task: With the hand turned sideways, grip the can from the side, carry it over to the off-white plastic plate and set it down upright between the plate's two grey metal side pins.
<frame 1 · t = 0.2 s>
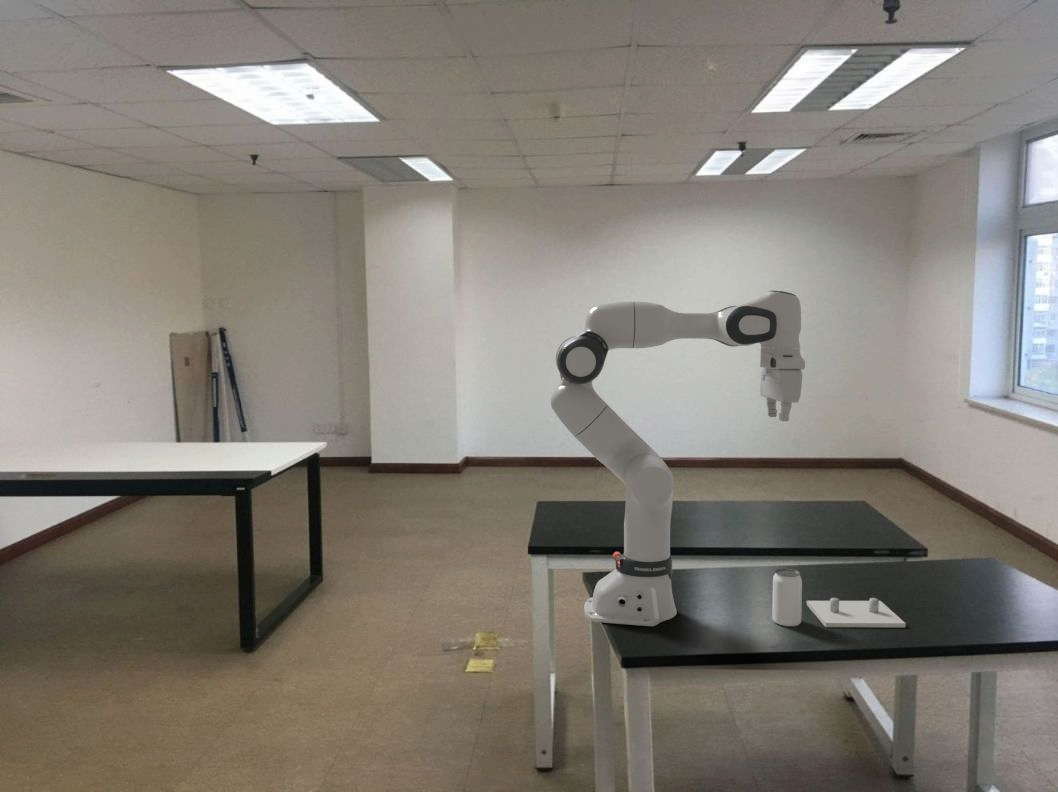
hand: (777, 418, 180), 47 cm above the table, tool pointing down, fingers open, 8 cm apart
can: (786, 622, 179), on the table
pin plate: (853, 615, 182), on the table
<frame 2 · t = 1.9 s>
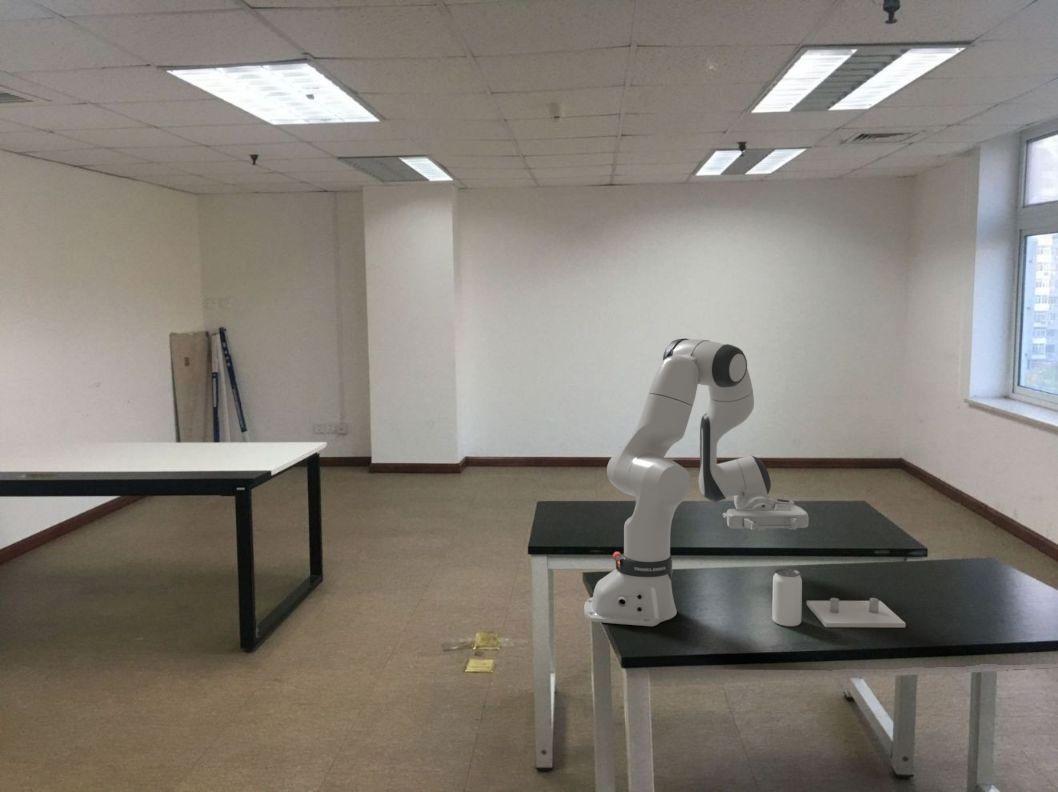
hand: (774, 526, 189), 19 cm above the table, tool horizontal, fingers open, 8 cm apart
nothing on the table moved.
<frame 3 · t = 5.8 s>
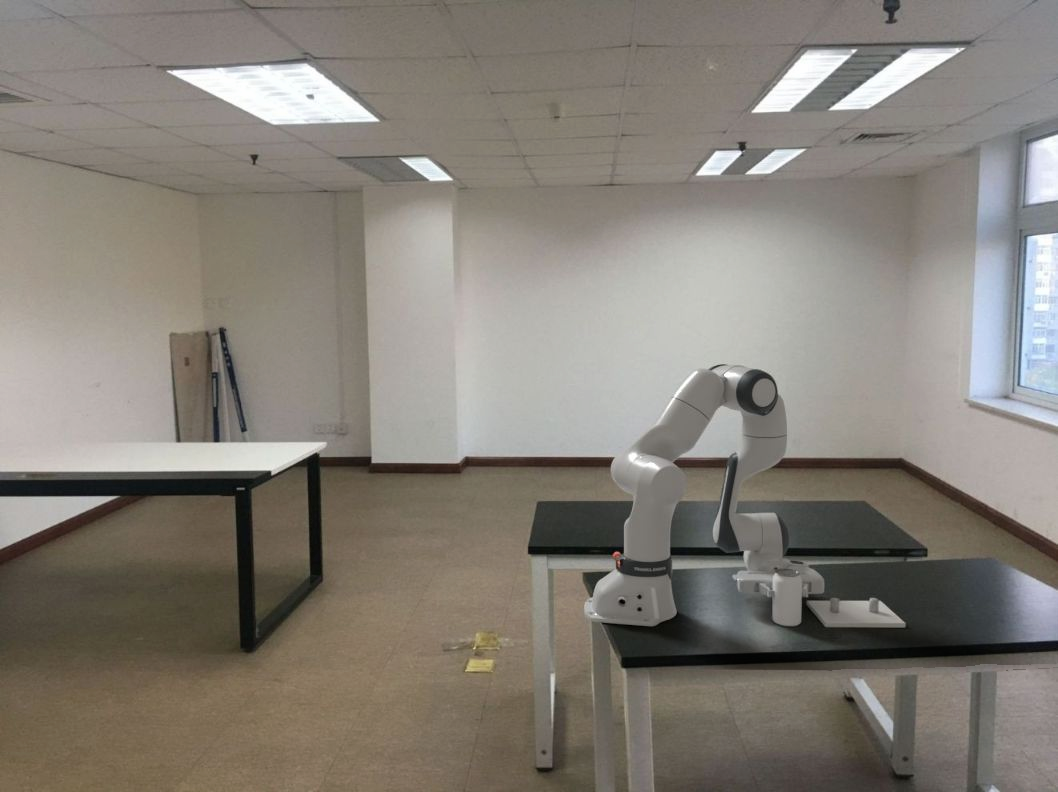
hand: (788, 594, 178), 7 cm above the table, tool horizontal, fingers closed on can, 6 cm apart
can: (786, 622, 179), on the table, touching gripper
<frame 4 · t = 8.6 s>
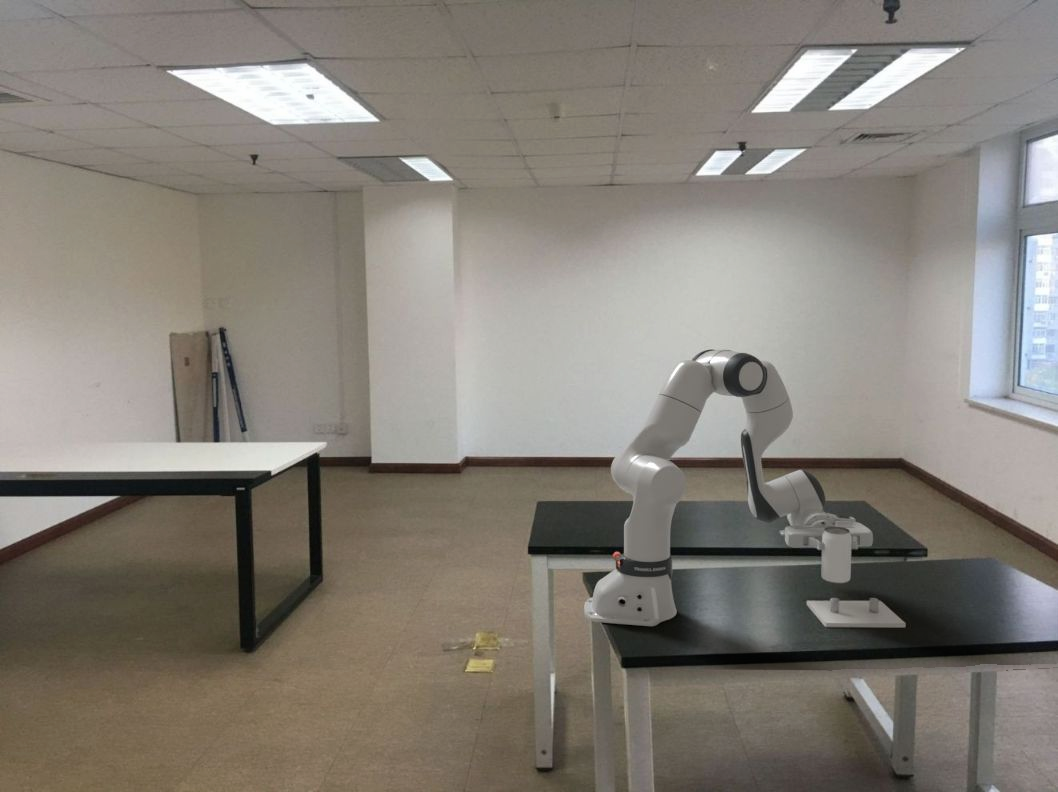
hand: (838, 546, 179), 18 cm above the table, tool horizontal, fingers closed on can, 6 cm apart
can: (835, 579, 181), point 9 cm above the table, touching gripper
when the fingers open (9 cm above the table, at t = 11.4 s): can stays where it is, resting on pin plate.
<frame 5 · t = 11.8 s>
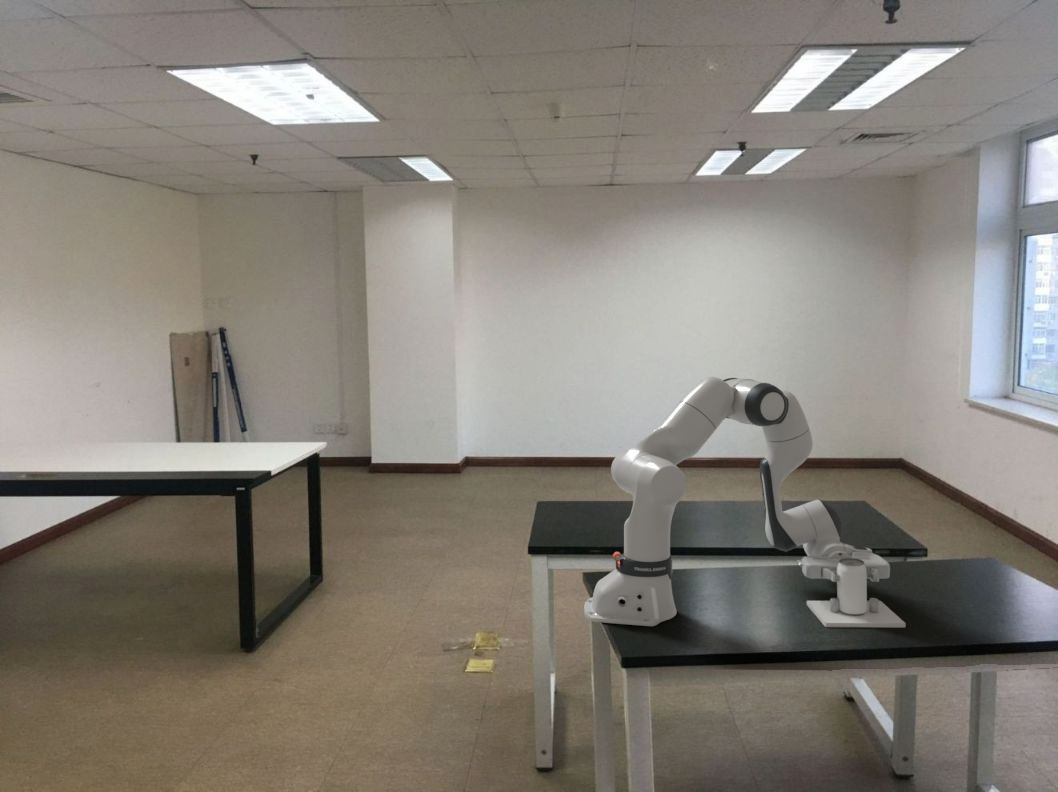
hand: (856, 578, 180), 9 cm above the table, tool horizontal, fingers open, 8 cm apart
can: (852, 611, 182), point 1 cm above the table, touching gripper, pin plate
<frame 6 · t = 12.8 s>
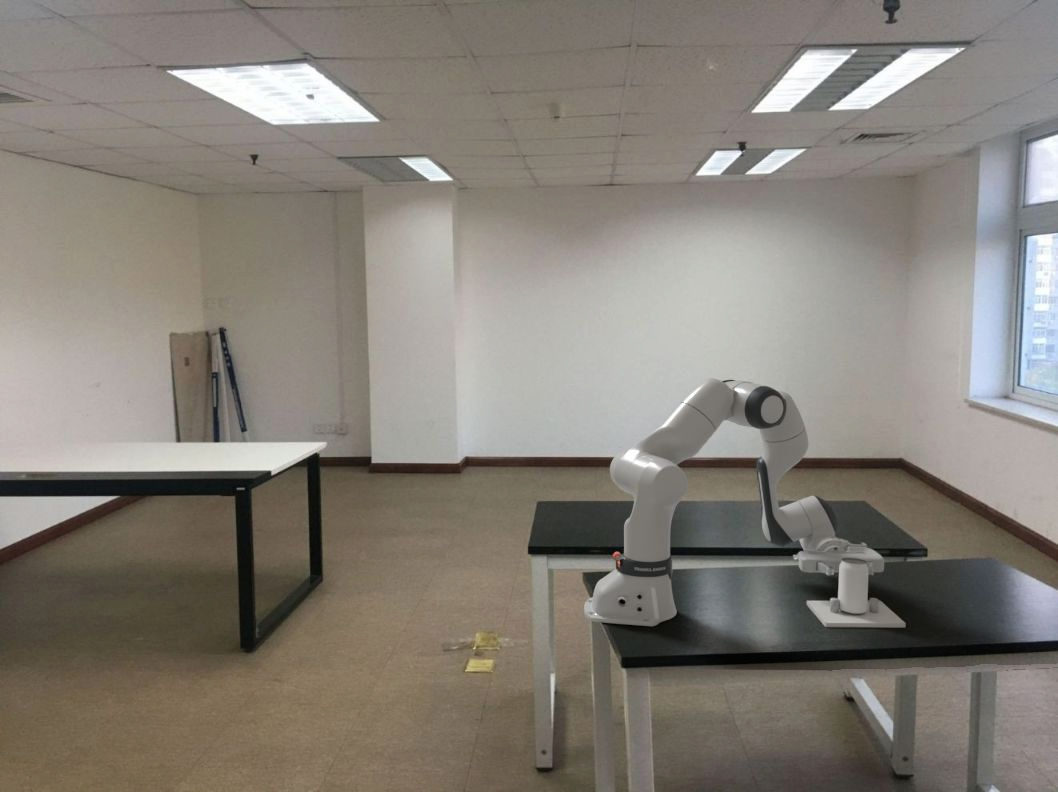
hand: (850, 572, 184), 10 cm above the table, tool horizontal, fingers open, 8 cm apart
can: (852, 611, 182), point 1 cm above the table, touching pin plate
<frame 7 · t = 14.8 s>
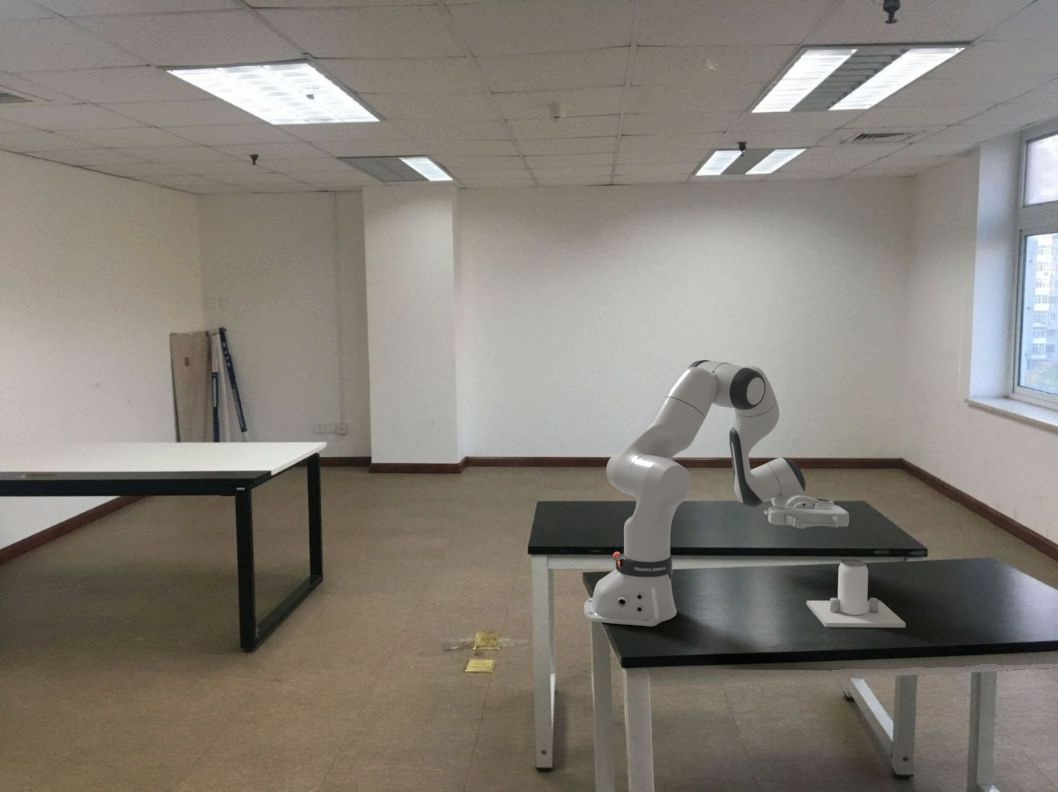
hand: (816, 523, 194), 19 cm above the table, tool horizontal, fingers open, 8 cm apart
nothing on the table moved.
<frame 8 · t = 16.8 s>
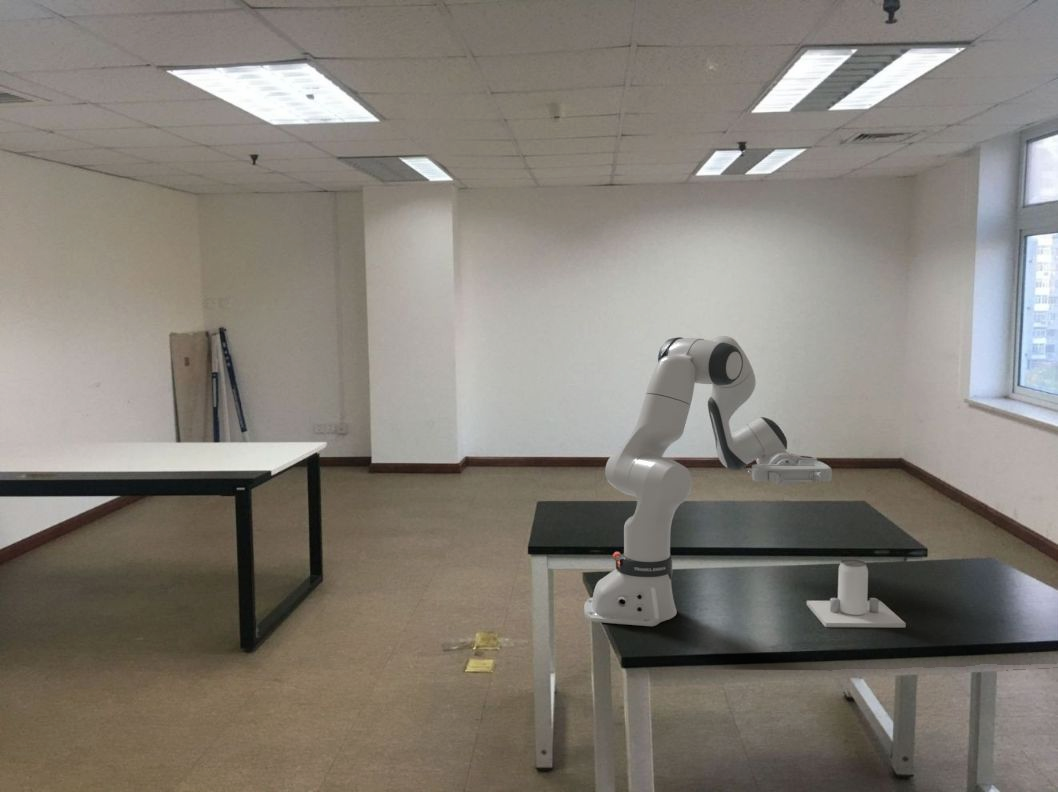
hand: (799, 479, 195), 30 cm above the table, tool horizontal, fingers open, 8 cm apart
nothing on the table moved.
at the end: can 0.4 cm off-centre on the pin plate, point 0.8 cm above the pin plate's base; can tilted 0°; the gripper is holding nothing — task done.
